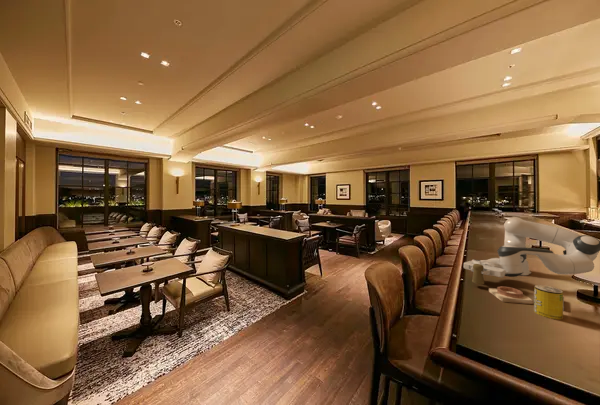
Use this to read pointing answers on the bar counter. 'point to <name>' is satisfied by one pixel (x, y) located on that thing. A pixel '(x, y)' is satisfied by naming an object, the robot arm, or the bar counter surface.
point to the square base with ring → (510, 295)
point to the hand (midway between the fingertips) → (477, 271)
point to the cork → (478, 274)
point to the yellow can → (548, 302)
